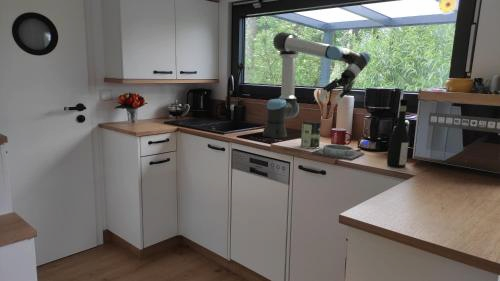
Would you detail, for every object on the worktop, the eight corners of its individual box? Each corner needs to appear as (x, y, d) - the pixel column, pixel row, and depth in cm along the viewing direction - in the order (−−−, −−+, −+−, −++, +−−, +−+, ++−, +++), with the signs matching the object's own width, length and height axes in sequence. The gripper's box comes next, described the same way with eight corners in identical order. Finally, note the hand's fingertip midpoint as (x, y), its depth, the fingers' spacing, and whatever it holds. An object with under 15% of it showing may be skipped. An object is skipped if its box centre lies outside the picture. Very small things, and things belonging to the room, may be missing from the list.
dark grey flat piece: (327, 148, 198) (327, 142, 197) (364, 154, 187) (364, 147, 186) (312, 153, 181) (312, 147, 181) (351, 160, 170) (352, 153, 170)
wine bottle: (407, 166, 165) (415, 99, 160) (403, 169, 158) (412, 100, 153) (388, 163, 169) (396, 98, 164) (384, 165, 163) (392, 98, 158)
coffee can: (319, 146, 204) (321, 121, 202) (319, 149, 194) (321, 123, 192) (300, 144, 206) (302, 119, 204) (299, 147, 196) (301, 121, 194)
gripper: (370, 79, 196) (346, 106, 192) (338, 78, 218) (316, 103, 213) (363, 68, 193) (339, 96, 188) (332, 69, 215) (310, 94, 210)
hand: (327, 100), depth 201 cm, fingers open, 13 cm apart
